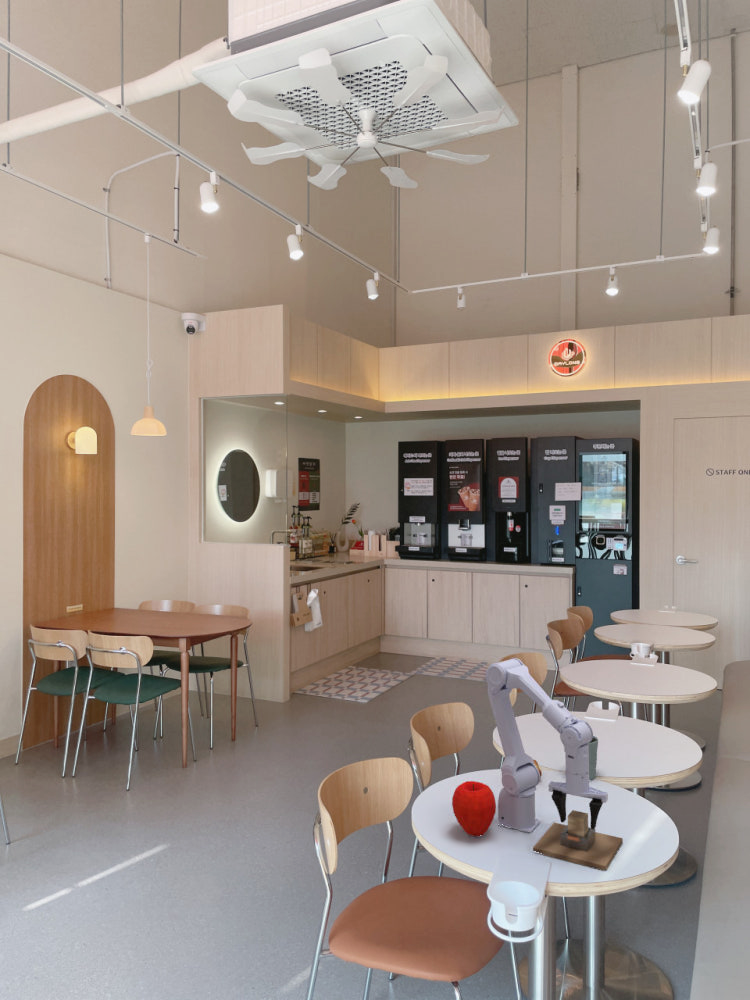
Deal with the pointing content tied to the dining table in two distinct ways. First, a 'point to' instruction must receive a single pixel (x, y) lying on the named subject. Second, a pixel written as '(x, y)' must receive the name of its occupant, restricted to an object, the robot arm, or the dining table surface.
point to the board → (595, 857)
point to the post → (578, 823)
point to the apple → (474, 807)
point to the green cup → (593, 757)
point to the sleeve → (578, 840)
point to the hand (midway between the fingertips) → (578, 824)
